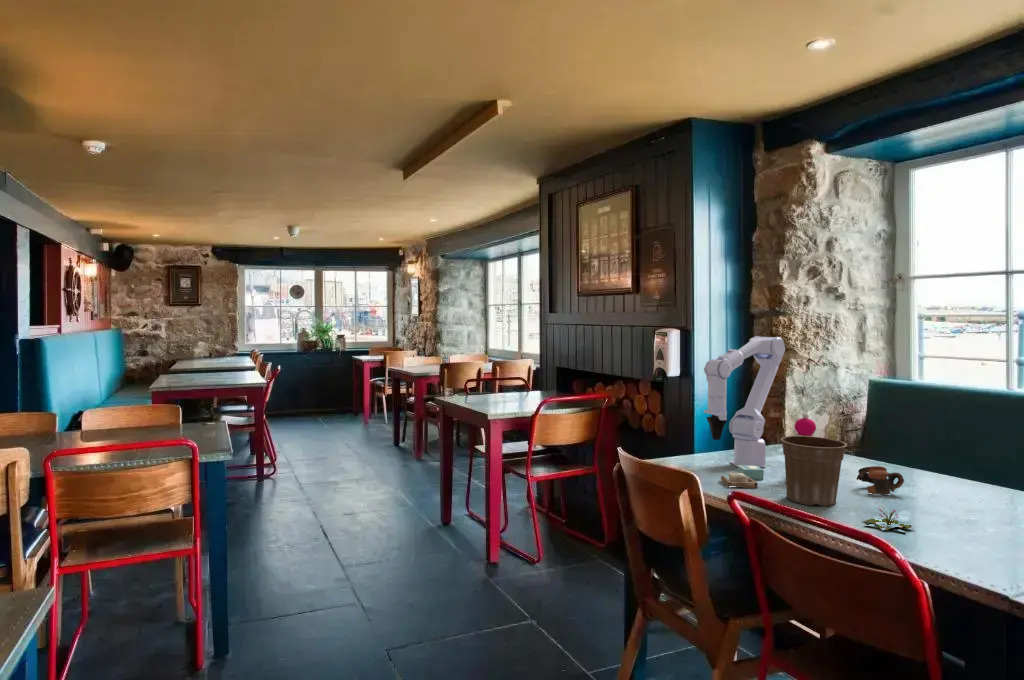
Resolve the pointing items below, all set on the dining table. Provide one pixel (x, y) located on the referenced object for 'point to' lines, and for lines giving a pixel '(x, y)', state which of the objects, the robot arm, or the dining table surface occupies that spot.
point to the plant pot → (812, 469)
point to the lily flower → (887, 520)
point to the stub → (738, 477)
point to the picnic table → (741, 483)
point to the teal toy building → (751, 471)
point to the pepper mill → (805, 426)
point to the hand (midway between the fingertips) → (716, 439)
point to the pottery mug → (880, 479)
